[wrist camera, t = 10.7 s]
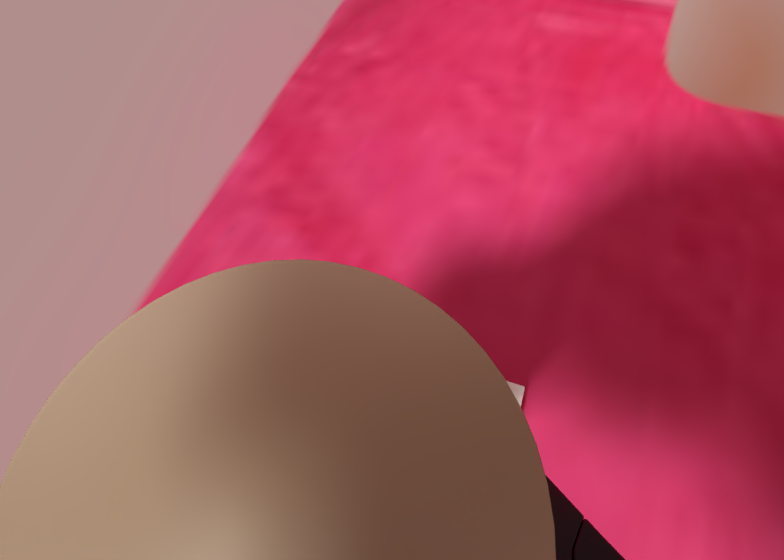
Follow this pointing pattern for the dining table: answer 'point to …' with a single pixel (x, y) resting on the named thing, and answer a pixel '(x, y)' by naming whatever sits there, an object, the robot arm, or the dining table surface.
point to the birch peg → (281, 433)
